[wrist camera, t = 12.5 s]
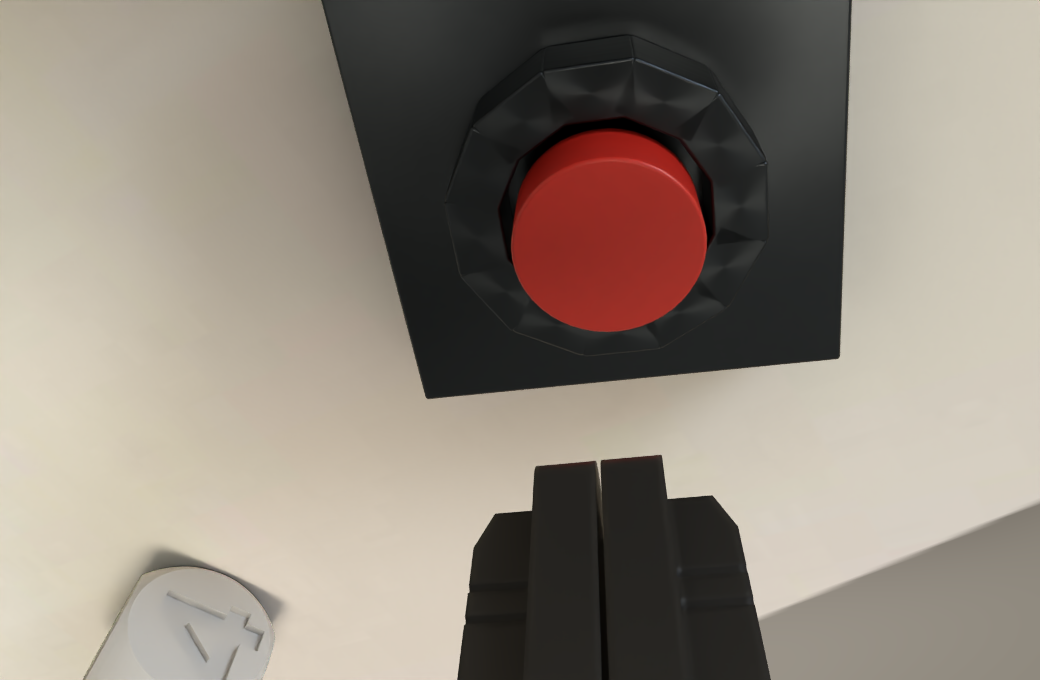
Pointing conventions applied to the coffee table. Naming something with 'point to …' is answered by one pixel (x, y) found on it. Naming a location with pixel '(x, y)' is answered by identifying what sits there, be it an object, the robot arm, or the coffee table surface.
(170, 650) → the die
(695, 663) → the robot arm
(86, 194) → the coffee table surface
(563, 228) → the button
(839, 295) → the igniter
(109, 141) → the coffee table surface
